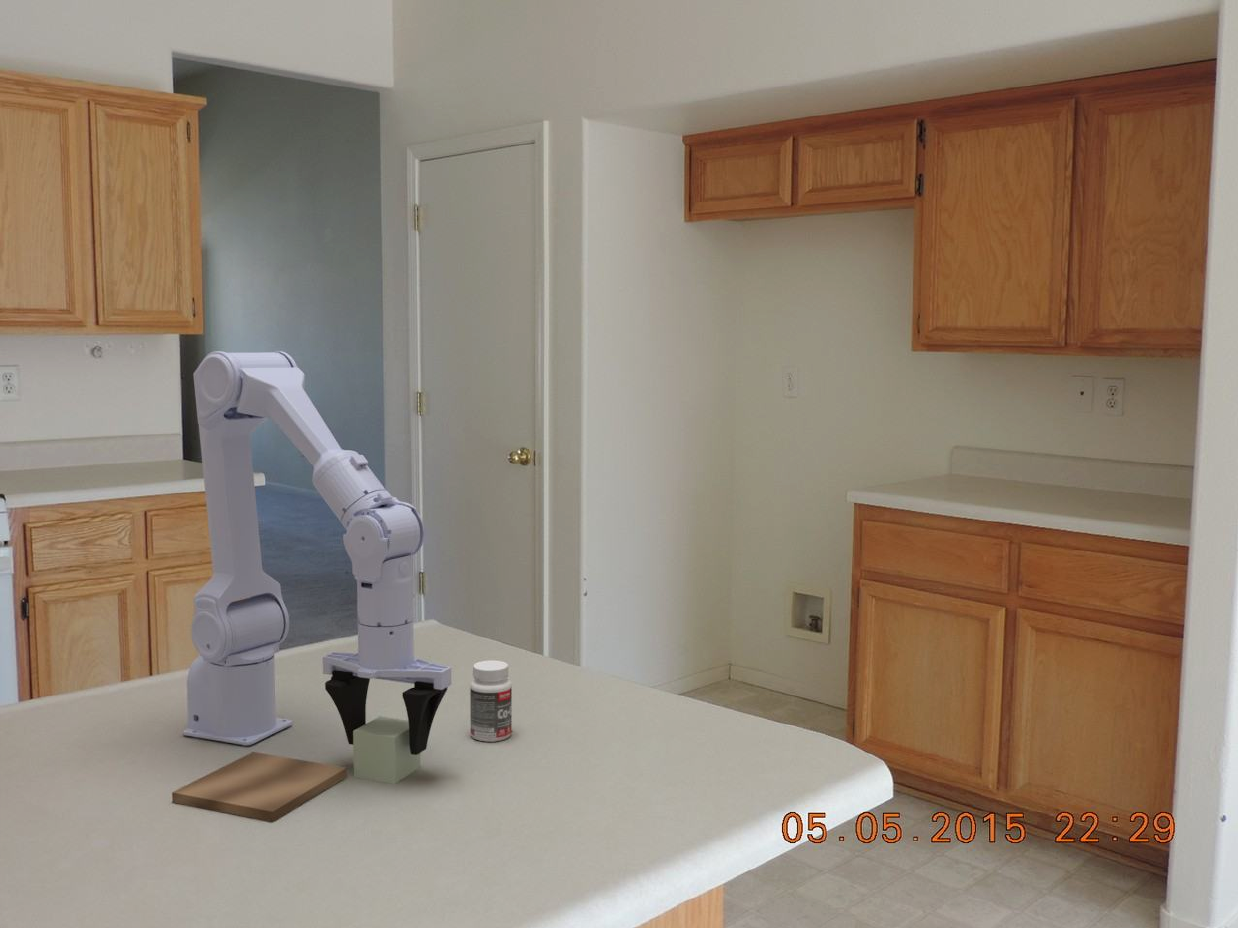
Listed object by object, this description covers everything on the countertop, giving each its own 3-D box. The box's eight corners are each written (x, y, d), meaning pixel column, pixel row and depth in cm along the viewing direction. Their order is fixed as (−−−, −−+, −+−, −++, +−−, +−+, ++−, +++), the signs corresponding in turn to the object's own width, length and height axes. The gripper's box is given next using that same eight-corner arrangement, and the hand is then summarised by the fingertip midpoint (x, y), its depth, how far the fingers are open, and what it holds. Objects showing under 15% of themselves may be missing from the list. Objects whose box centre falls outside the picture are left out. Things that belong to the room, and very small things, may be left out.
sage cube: (353, 777, 118) (353, 730, 118) (380, 760, 123) (379, 716, 122) (395, 784, 117) (394, 737, 116) (420, 767, 121) (420, 722, 121)
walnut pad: (172, 801, 111) (172, 792, 111) (253, 760, 122) (252, 751, 122) (272, 821, 107) (272, 811, 107) (346, 776, 118) (346, 767, 118)
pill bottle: (504, 744, 128) (504, 672, 127) (464, 740, 129) (464, 669, 128) (516, 730, 133) (516, 660, 132) (478, 727, 134) (477, 658, 133)
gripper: (304, 622, 117) (306, 749, 118) (426, 636, 112) (427, 769, 113) (344, 607, 123) (346, 728, 125) (461, 620, 118) (461, 746, 120)
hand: (387, 746), depth 119 cm, fingers open, 7 cm apart
